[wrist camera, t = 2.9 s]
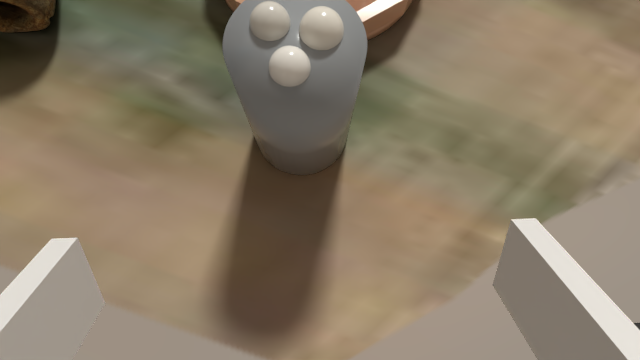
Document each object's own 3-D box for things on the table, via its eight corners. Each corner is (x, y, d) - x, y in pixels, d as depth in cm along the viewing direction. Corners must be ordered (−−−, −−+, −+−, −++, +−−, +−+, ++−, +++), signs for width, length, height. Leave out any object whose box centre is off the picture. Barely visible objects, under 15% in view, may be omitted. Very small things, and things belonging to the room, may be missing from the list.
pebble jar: (255, 176, 28) (214, 99, 16) (255, 91, 30) (218, -34, 18) (350, 173, 28) (377, 93, 16) (344, 88, 30) (364, -37, 18)
